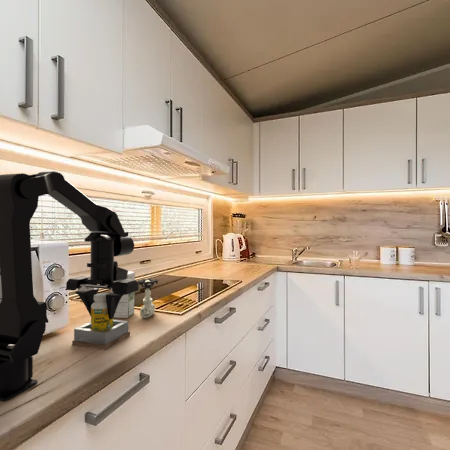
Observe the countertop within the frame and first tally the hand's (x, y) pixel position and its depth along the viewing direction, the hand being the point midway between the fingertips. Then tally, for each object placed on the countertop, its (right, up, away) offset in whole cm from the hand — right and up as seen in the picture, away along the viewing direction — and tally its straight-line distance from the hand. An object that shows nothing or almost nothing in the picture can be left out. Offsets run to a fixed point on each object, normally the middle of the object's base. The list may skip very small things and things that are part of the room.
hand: (102, 317), depth 80 cm
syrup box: (-2, -6, +22) cm, 22 cm away
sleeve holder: (0, -6, 0) cm, 6 cm away
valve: (+7, -6, +21) cm, 23 cm away
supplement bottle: (0, -4, 0) cm, 4 cm away
